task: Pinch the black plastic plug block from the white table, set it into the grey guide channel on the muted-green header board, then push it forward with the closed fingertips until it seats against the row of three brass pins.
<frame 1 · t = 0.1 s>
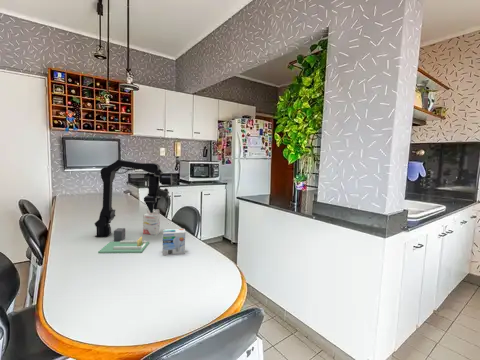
hand: (153, 211, 145), 15 cm above the table, fingers open, 9 cm apart
light bulb box: (173, 252, 123), on the table
ink cartridge box: (151, 233, 150), on the table
board: (125, 247, 126), on the table
plug: (117, 236, 134), point 3 cm above the table, tilted 90°
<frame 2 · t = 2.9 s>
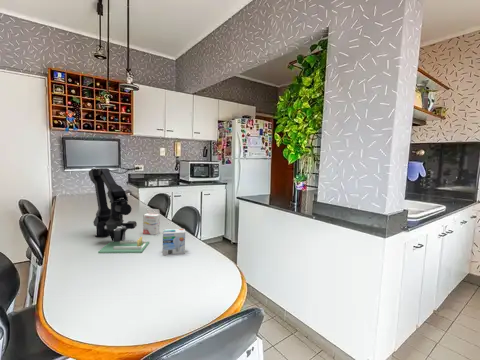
hand: (117, 240, 133), 1 cm above the table, fingers closed on plug, 4 cm apart
plug: (117, 236, 134), point 3 cm above the table, tilted 90°, touching gripper
everything else where it was.
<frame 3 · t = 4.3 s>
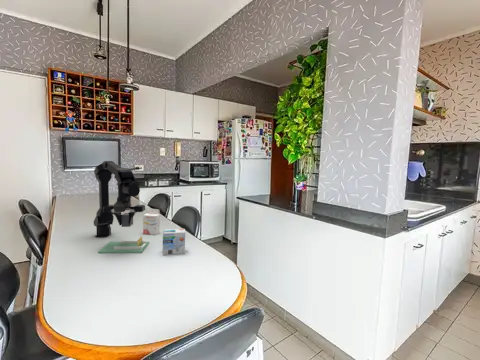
hand: (124, 225, 125), 12 cm above the table, fingers closed on plug, 4 cm apart
plug: (125, 220, 126), point 14 cm above the table, tilted 91°, touching gripper
everything else where it was.
when the fingers open (3 cm above the table, at t = 5.9 s): plug drops 3 cm, resting on board.
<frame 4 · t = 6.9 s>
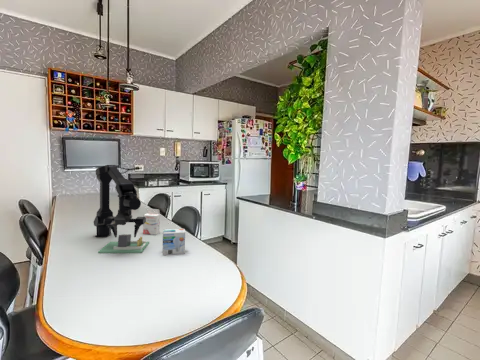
hand: (125, 237, 125), 6 cm above the table, fingers open, 9 cm apart
plug: (124, 246, 124), point 2 cm above the table, tilted 14°, touching board
everything else where it was.
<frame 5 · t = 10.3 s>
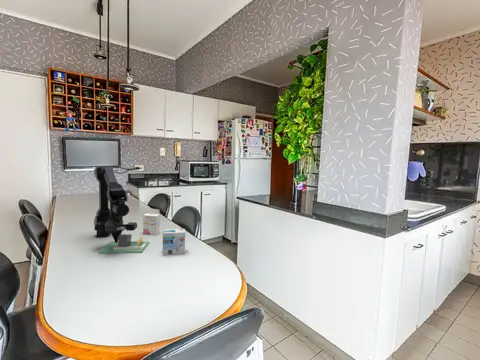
hand: (116, 242, 125), 3 cm above the table, fingers closed
plug: (124, 245, 124), point 2 cm above the table, tilted 14°, touching board, gripper
everything else where it was.
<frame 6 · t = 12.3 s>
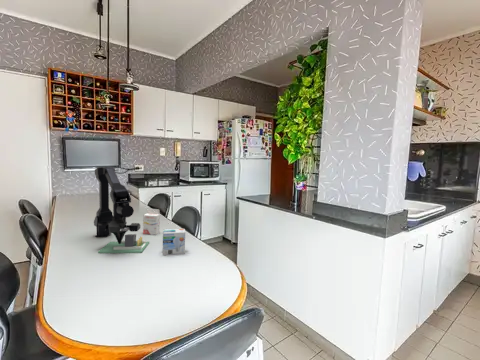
hand: (119, 243, 126), 2 cm above the table, fingers closed
plug: (130, 245, 125), point 1 cm above the table, tilted 13°, touching board
everything else where it was.
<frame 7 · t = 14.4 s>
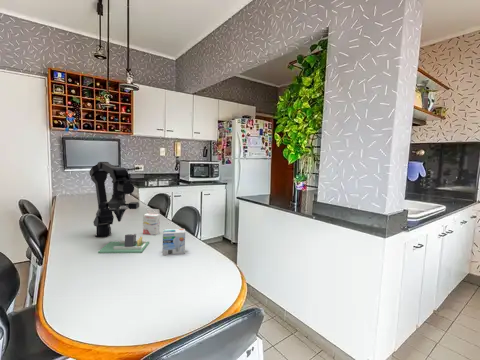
hand: (119, 221, 130), 12 cm above the table, fingers closed
nothing on the table moved.
at the end: plug 2.0 cm from the target spot on the board, point 1.5 cm above the board's base; plug tilted 13°; the gripper is holding nothing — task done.
